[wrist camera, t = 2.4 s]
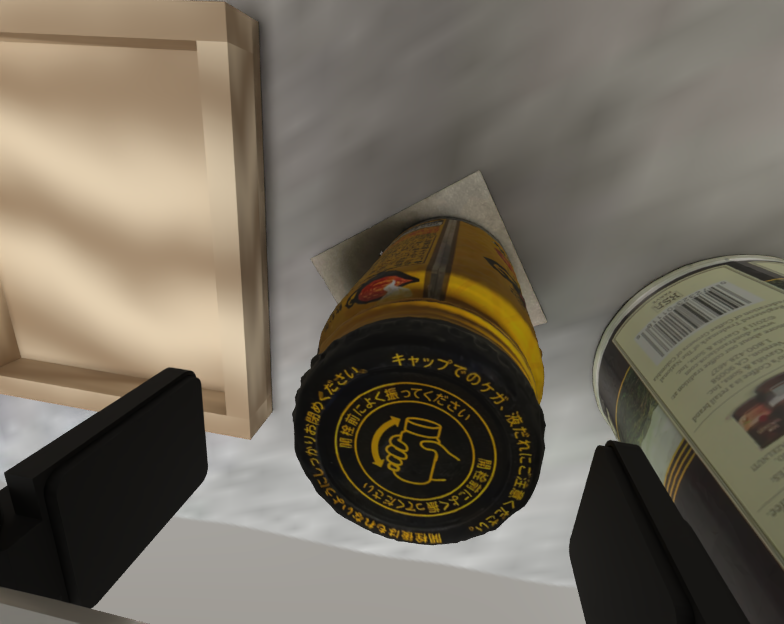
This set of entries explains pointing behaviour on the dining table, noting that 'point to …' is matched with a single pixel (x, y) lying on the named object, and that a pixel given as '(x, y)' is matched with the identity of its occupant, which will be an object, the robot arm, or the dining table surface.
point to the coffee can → (710, 410)
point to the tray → (133, 204)
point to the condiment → (426, 374)
